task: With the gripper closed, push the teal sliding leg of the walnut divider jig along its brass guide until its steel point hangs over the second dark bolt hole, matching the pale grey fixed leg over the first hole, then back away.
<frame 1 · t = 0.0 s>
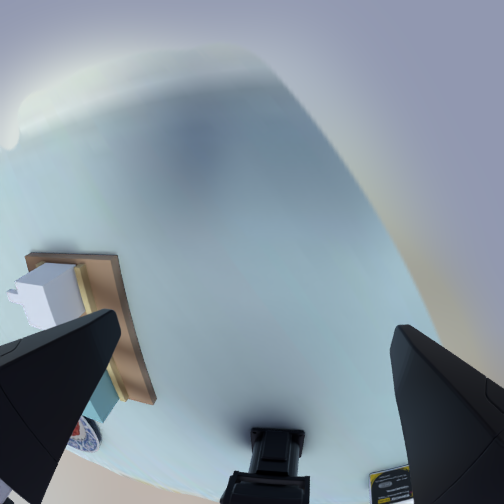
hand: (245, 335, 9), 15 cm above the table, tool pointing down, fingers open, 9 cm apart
sliding leg: (77, 386, 29), point 4 cm above the table, slide at 0.0 cm
fixed leg: (73, 279, 28), resting on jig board
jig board: (89, 329, 30), on the table
medicine bottle: (389, 475, 33), on the table
ceramic plate: (50, 401, 41), on the table
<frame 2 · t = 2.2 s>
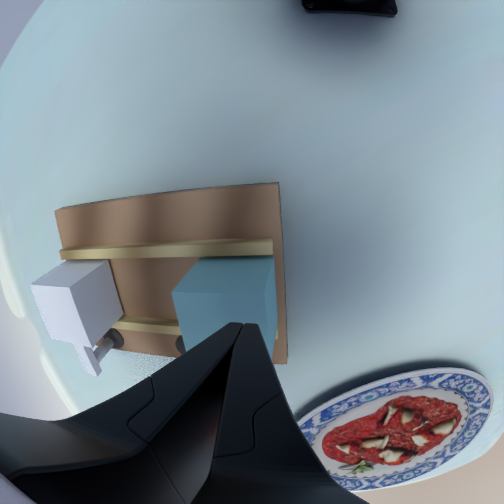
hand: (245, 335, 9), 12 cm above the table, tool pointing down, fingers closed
sliding leg: (235, 335, 19), point 4 cm above the table, slide at 0.0 cm
fixed leg: (103, 279, 24), resting on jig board
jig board: (164, 280, 23), on the table
ceramic plate: (390, 433, 27), on the table
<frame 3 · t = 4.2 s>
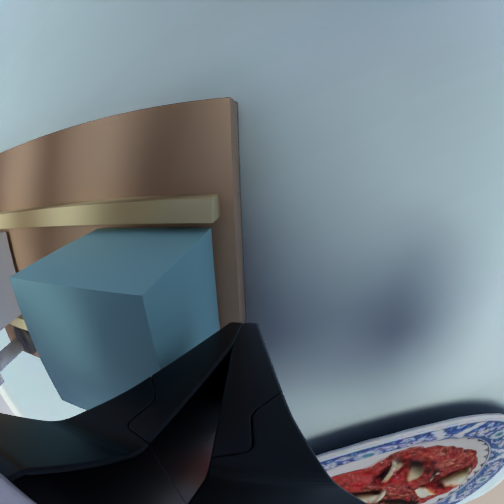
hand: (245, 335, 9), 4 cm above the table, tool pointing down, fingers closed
sliding leg: (140, 364, 10), point 4 cm above the table, slide at 0.3 cm, touching gripper
fixed leg: (12, 261, 15), resting on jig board
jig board: (72, 266, 14), on the table
ceramic plate: (386, 482, 18), on the table
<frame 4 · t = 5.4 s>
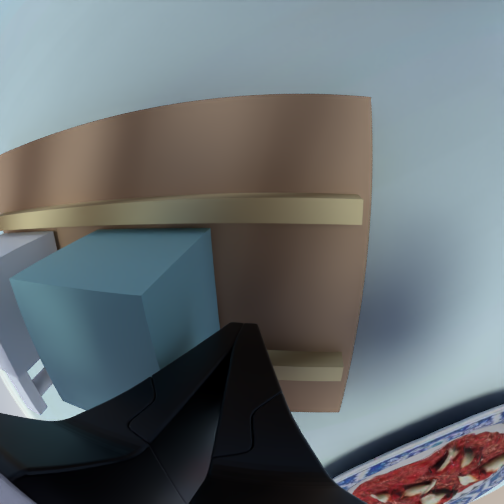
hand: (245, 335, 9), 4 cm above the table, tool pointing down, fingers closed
sliding leg: (140, 365, 10), point 4 cm above the table, slide at 5.0 cm, touching gripper
fixed leg: (52, 265, 14), resting on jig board
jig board: (143, 271, 13), on the table
ceramic plate: (432, 473, 17), on the table
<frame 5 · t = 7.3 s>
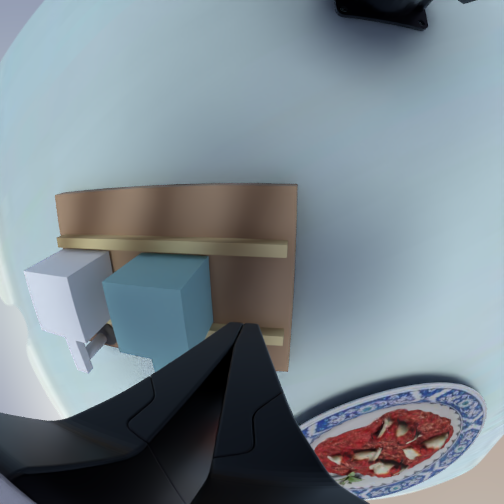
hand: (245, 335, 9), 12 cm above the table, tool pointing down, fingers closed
sliding leg: (167, 330, 19), point 4 cm above the table, slide at 5.0 cm
fixed leg: (100, 271, 23), resting on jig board
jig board: (166, 277, 22), on the table
ceramic plate: (381, 445, 26), on the table
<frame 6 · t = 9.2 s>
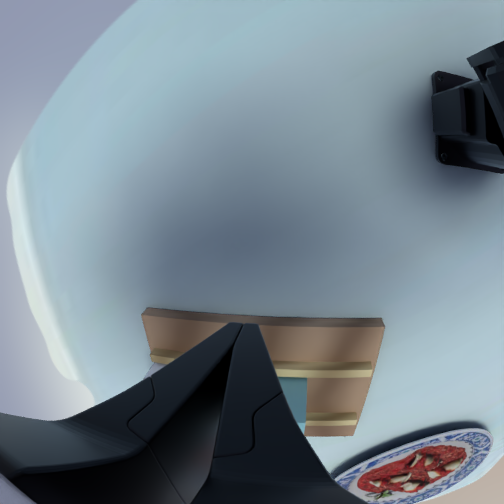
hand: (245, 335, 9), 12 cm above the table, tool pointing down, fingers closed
sliding leg: (272, 429, 21), point 4 cm above the table, slide at 5.0 cm
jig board: (260, 380, 25), on the table
ceramic plate: (410, 469, 29), on the table
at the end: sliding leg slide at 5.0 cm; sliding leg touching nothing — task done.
